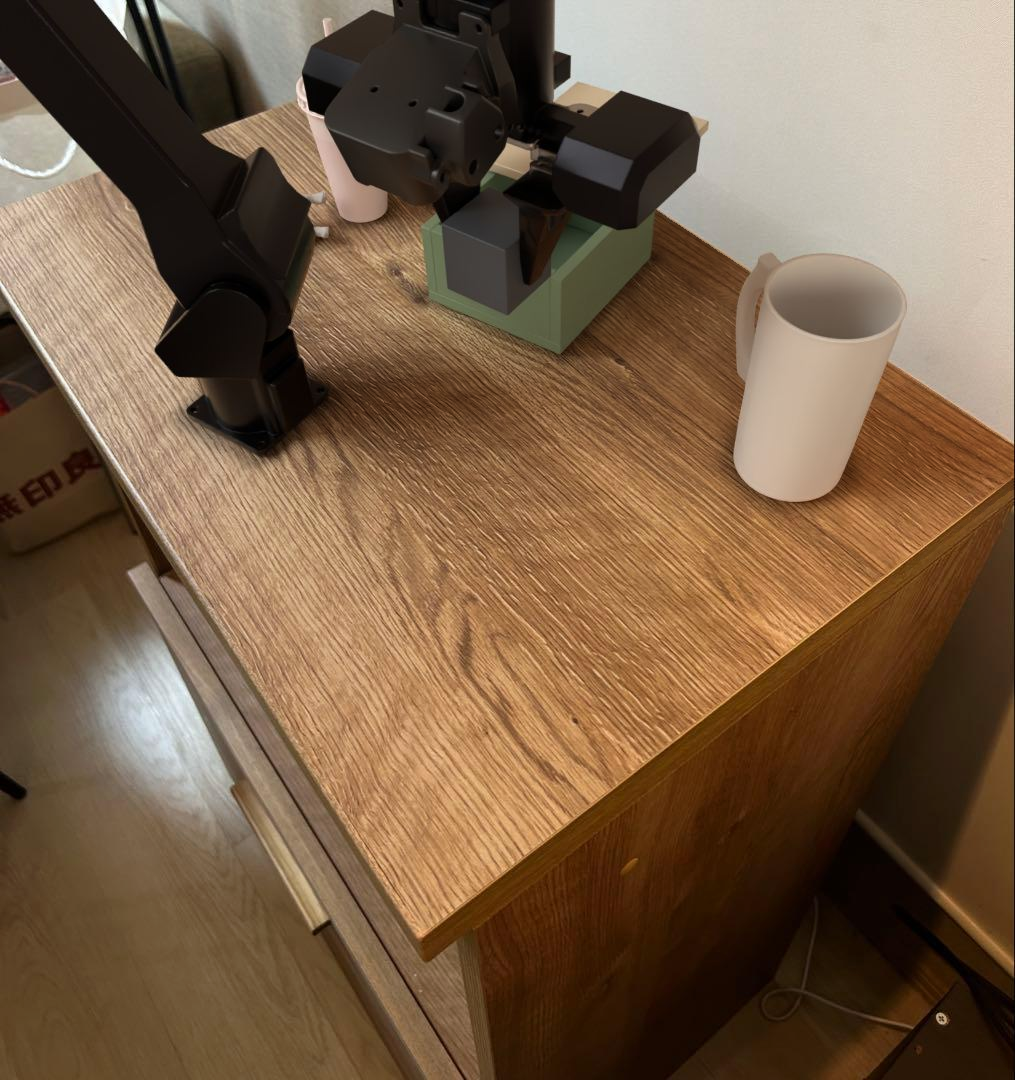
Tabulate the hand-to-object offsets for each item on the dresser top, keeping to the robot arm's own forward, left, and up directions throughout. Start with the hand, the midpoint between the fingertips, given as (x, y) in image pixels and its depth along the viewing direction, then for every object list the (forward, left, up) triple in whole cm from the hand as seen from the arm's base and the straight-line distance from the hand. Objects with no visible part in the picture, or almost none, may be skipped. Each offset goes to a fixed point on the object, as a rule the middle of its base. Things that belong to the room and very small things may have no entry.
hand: (498, 266), depth 51 cm
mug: (+15, +6, -11) cm, 19 cm away
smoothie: (-21, +12, -11) cm, 27 cm away
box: (-5, +12, -11) cm, 17 cm away
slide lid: (-5, +20, -5) cm, 21 cm away
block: (0, 0, -1) cm, 1 cm away
